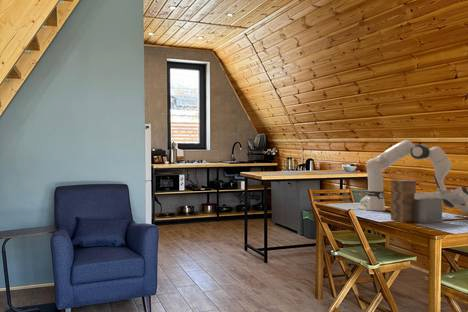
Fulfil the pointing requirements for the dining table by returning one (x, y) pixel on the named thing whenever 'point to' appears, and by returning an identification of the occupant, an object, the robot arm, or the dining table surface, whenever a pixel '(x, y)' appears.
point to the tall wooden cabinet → (402, 199)
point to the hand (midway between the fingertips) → (444, 189)
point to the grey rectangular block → (427, 195)
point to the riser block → (427, 210)
